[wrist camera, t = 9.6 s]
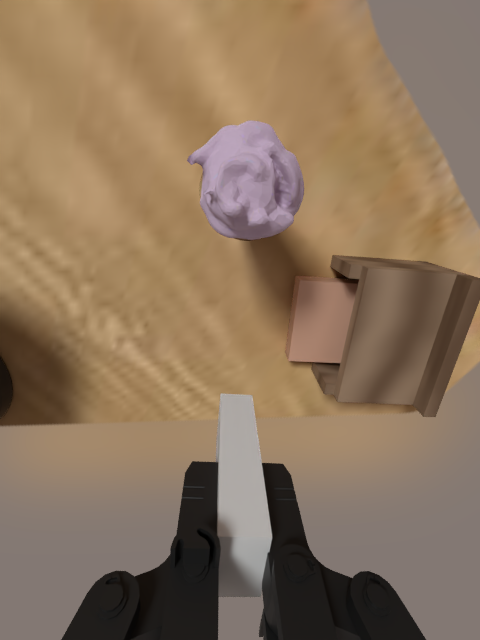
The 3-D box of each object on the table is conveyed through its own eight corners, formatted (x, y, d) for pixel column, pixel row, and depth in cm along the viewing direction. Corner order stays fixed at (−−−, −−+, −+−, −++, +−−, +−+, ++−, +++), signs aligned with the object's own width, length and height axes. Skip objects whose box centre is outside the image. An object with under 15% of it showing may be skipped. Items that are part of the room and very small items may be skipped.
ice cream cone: (190, 191, 28) (154, 182, 14) (234, 134, 27) (242, 63, 13) (243, 240, 30) (256, 274, 16) (287, 189, 29) (344, 179, 15)
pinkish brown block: (284, 350, 36) (288, 360, 33) (294, 274, 32) (299, 280, 30) (384, 354, 36) (394, 365, 34) (403, 281, 33) (417, 287, 31)
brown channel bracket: (311, 369, 36) (333, 413, 29) (332, 255, 31) (365, 272, 24) (393, 373, 37) (435, 417, 29) (426, 261, 32) (487, 280, 24)
